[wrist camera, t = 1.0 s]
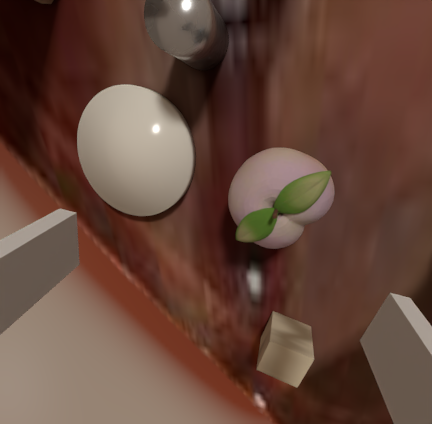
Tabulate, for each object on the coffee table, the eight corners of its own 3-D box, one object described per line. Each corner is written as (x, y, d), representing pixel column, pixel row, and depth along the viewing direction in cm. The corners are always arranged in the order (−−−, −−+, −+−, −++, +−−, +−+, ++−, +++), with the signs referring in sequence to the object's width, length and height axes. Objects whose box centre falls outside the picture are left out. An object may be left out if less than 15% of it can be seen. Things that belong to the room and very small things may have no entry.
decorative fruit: (278, 124, 25) (271, 123, 16) (340, 175, 25) (368, 204, 16) (223, 192, 29) (192, 222, 20) (277, 236, 29) (271, 287, 20)
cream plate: (218, 130, 27) (215, 131, 26) (164, 233, 33) (159, 238, 32) (106, 60, 28) (97, 57, 27) (74, 173, 34) (64, 174, 33)
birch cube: (310, 326, 32) (314, 359, 27) (296, 352, 34) (297, 387, 29) (272, 310, 33) (269, 340, 28) (260, 337, 35) (256, 369, 30)
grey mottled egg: (238, 27, 24) (219, -9, 17) (213, 80, 26) (188, 65, 19) (194, 1, 24) (159, -44, 18) (173, 55, 26) (135, 32, 20)
